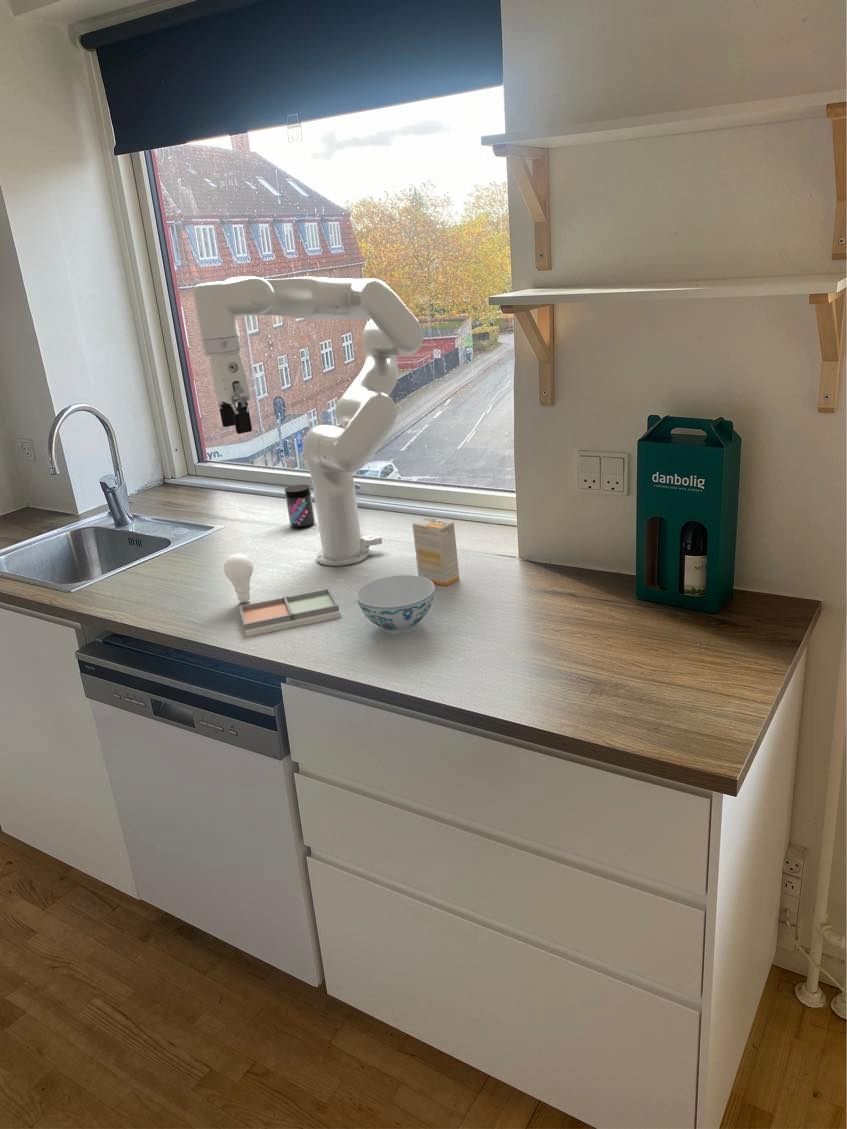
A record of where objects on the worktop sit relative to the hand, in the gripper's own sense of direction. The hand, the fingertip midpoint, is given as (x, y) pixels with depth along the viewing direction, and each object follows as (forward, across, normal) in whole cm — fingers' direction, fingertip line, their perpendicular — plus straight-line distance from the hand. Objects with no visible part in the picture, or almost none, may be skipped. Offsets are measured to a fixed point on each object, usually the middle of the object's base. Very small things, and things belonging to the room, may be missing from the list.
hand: (237, 429), depth 182 cm
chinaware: (+36, -40, -13) cm, 55 cm away
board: (+35, -20, +2) cm, 41 cm away
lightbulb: (+36, -7, +7) cm, 37 cm away
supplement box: (+36, -25, -31) cm, 53 cm away
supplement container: (+36, +34, -22) cm, 54 cm away
